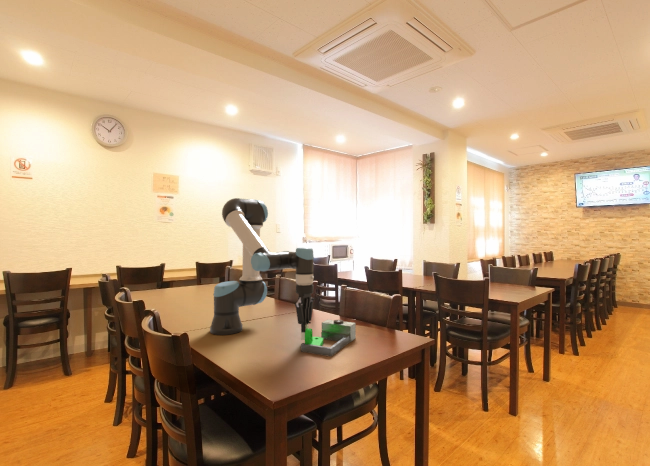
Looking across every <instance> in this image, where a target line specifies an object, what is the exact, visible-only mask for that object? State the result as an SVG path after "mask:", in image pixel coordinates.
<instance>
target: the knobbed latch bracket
mask: <svg viewBox="0 0 650 466" xmlns="http://www.w3.org/2000/svg"><path fill="white" fill-rule="evenodd" d="M356 325H357V324H356V322H351V321H344V320H343V319H334V320H333V319H326V320H324V321H322V322H321V333H320V334H321V336H320V337H322V338H323V340H327V341H333V342H335V343H334V344H332V345H331V346H323V345H322V346H318V345H312V344H305V342H304V343H303V342H301V343H300V352H301V353H309V354H313V355H320V356H326V357H333V356H334V355H335V354H337V353H338V352H339V351H341V350H342V349H343V348H345V347H346V346H347V345H349V344H350V343H352V342H353V341H355V340H356V337H357V335H356V330H357V329H356Z"/></svg>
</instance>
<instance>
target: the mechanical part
mask: <svg viewBox="0 0 650 466" xmlns="http://www.w3.org/2000/svg"><path fill="white" fill-rule="evenodd" d="M304 343H305V344H312V345H318V346H323V345H324V339H323V338H322V337H321V336H313V329H312V328H309V327H308V328H306V331H305V340H304Z"/></svg>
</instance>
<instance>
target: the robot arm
mask: <svg viewBox="0 0 650 466" xmlns="http://www.w3.org/2000/svg"><path fill="white" fill-rule="evenodd" d="M268 212H269V210H268V208H267V205H266V204H265V202H264V201H262V200H259V199H253V198H252V199H251V198H238V197H237V198H232V199H229V200H227V201H226V203H224V205H223V207H222V210H221V216H222V220H223V222H224V223H225V224H226V225H227V226H228V227H229V228H231V229H232V231H233V232H234V233H235V235H236V236H237V238H238V239H239V240H240V242H241V243H242V271H241V272H242V276H240V278H239V281H238V280H230V281H228V280H227V281H222V282H220V283H217V284H216V285H215V286H214V289H213V317H212V321H211V325H210V328H209V332H210V334H212V335H215V336H216V335H217V336H226V335H234V334H237V333H240V332H242V331H243V322H242V320H241V317H240V309H239V308H241V307H242V308H243V307H246V306H252V305H253V306H255V305H258V304H261V303H263V302H264V300H266V298H267V294H268V286H267V284H266V283H265V281H263V278H262V276H261V275H260V272H267V271H275V270H286V269H287V270H288V269H290V270H295V283H296V284H295V293H296V294H297V295H298V297H297V302H296V301H295V302H294V306H295V311H296V317H297V324H299V325H300V326H301V328H300V331H301V332H300V337H301V338H300V339H301V340H304V341H305V331H306V328H309V324H311V323H312V317H313V308H314V301H315V298H314V297H312V294H314V288H315V287H314V284H313V283H314V278H315V276H314V258H315V257H314V250H313V248H312V247H296V248H295V251H289V250H284V251H277V252H275V251H273V252H271V251H270V249H268V247H267V246H266V245H265V243H264V241H262V239H261V229H262V227H264V223H265V222H266V221H267V219H268V216H269V213H268Z"/></svg>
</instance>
